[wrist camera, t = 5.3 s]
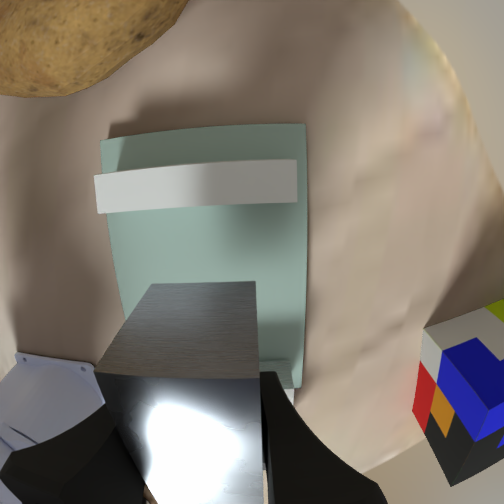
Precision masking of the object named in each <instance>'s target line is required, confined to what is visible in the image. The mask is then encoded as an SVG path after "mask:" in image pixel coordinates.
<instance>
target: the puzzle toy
mask: <svg viewBox="0 0 504 504" xmlns="http://www.w3.org/2000/svg"><path fill="white" fill-rule="evenodd" d="M412 412H413V413H414V415H415V417H416V419H417V421H418V423H419V425H420V427H421V428H422V430H423V432H424V434H425V436H426V438H427V440H428V442H429V444H430V446H431V448H432V449H433V452H434V454H435V456H436V458H437V460H438V462H439V464H440V466H441V468H442V470H443V472H444V474H445V476H446V478H447V480H448V482H449V484H450V487H452V486H454V485H456V484H458V483H460V482H462V481H464V480H466V479H468V478H470V477H472V476H474V475H475V474H477V473H479V472H481V471H483V470H484V469H486V468H488V467H490V466H491V465H493V464H495V463H497V462H498V461H500V460H501V459H503V458H504V299H502V300H500V301H497V302H495V303H492V304H490V305H487V306H485V307H482V308H480V309H477V310H475V311H472V312H469V313H467V314H464V315H461V316H458V317H456V318H453V319H450V320H447V321H444V322H441V323H438V324H435V325H432V326H429V327H426V328H423V336H422V347H421V356H420V364H419V372H418V379H417V386H416V392H415V398H414V404H413V409H412Z"/></svg>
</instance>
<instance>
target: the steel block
mask: <svg viewBox="0 0 504 504" xmlns="http://www.w3.org/2000/svg"><path fill="white" fill-rule="evenodd" d="M93 373H94V375H95V378H96V381H97V383H98V386H99V388H100V391H101V393H102V396H103V398H104V400H105V403H106V405H107V407H108V410H109V412H110V414H111V416H112V419H113V421H114V423H115V425H116V427H117V429H118V432H119V434H120V436H121V438H122V440H123V442H124V444H125V446H126V448H127V450H128V452H129V454H130V455H131V457H132V459H133V461H134V463H135V465H136V467H137V468H138V470H139V472H140V474H141V476H142V477H143V479H144V481H145V482H146V484H147V486H148V487H149V489H150V491H151V492H152V494H153V496H154V497H155V499H156V500H157V502H158V504H264V499H263V466H262V433H261V402H260V372H259V348H258V324H257V301H256V281H235V282H202V283H154V284H151V285H150V286H149V288H148V289H147V291H146V292H145V294H144V295H143V297H142V298H141V299H140V301H139V302H138V304H137V305H136V307H135V308H134V310H133V311H132V313H131V314H130V316H129V317H128V318H127V320H126V321H125V323H124V324H123V326H122V327H121V329H120V330H119V332H118V333H117V335H116V336H115V338H114V340H113V341H112V343H111V344H110V346H109V347H108V349H107V350H106V352H105V353H104V355H103V357H102V358H101V360H100V361H99V363H98V364H97V366H96V368H95V369H94V371H93Z"/></svg>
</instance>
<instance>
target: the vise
mask: <svg viewBox="0 0 504 504" xmlns="http://www.w3.org/2000/svg"><path fill="white" fill-rule="evenodd" d="M100 149H101V164H102V174H98V175H94V183H95V193H96V202H97V210H98V214H103V213H106V215H107V222H108V230H109V236H110V243H111V249H112V255H113V261H114V267H115V272H116V278H117V283H118V288H119V293H120V298H121V302H122V307H123V311H124V316H125V320H127V318H128V317H129V316H130V314H131V313H132V311H133V310H134V308H135V307H136V305H137V304H138V302H139V301H140V299H141V298H142V297H143V295H144V294H145V292H146V291H147V289H148V288H149V286H150V285H151V284H154V283H202V282H235V281H256V301H257V324H258V348H259V362H260V361H281V360H289V361H290V367H291V373H292V379H293V384H294V388H301V382H302V367H303V350H304V331H305V308H306V276H307V152H306V124H246V125H226V126H211V127H199V128H188V129H178V130H168V131H160V132H152V133H145V134H137V135H131V136H124V137H118V138H112V139H106V140H101V141H100Z"/></svg>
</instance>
